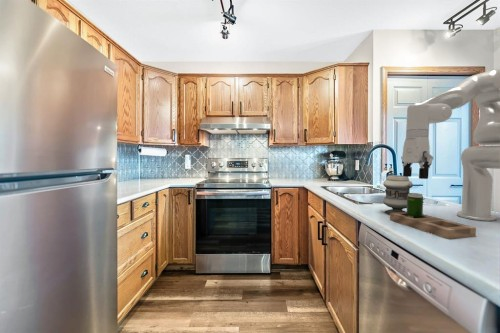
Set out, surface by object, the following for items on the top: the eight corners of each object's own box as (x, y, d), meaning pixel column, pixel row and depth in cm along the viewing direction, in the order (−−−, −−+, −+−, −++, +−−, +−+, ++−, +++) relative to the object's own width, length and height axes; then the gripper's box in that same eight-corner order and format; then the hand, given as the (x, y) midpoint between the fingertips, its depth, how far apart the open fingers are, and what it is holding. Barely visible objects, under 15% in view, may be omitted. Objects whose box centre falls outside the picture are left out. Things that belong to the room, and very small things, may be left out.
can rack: (389, 220, 103) (390, 213, 103) (412, 218, 106) (412, 211, 106) (448, 239, 80) (449, 230, 79) (475, 236, 82) (476, 227, 82)
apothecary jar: (378, 210, 121) (379, 174, 120) (404, 211, 119) (405, 174, 118) (388, 216, 109) (390, 176, 108) (417, 217, 107) (419, 177, 106)
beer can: (418, 225, 95) (419, 195, 94) (403, 222, 99) (404, 193, 99) (424, 223, 98) (425, 194, 97) (409, 220, 102) (410, 192, 101)
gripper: (394, 136, 105) (393, 175, 106) (422, 132, 88) (420, 179, 89) (412, 136, 105) (410, 175, 106) (443, 133, 88) (440, 179, 89)
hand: (414, 177), depth 97 cm, fingers open, 9 cm apart
